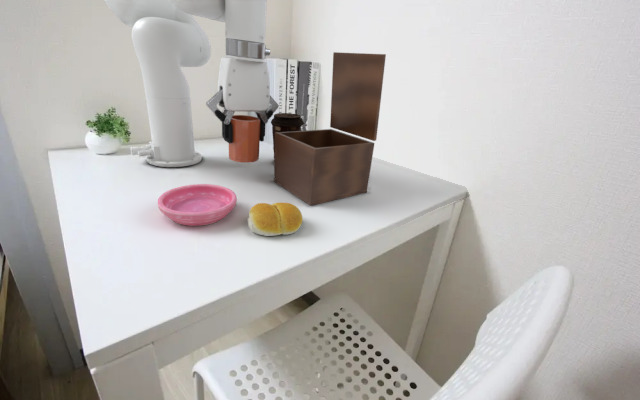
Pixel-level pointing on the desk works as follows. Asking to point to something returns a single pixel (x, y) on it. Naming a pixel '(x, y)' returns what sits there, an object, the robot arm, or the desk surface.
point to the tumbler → (245, 139)
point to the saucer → (197, 204)
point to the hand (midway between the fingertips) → (244, 140)
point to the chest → (322, 164)
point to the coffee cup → (285, 124)
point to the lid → (357, 93)
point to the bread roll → (274, 219)
